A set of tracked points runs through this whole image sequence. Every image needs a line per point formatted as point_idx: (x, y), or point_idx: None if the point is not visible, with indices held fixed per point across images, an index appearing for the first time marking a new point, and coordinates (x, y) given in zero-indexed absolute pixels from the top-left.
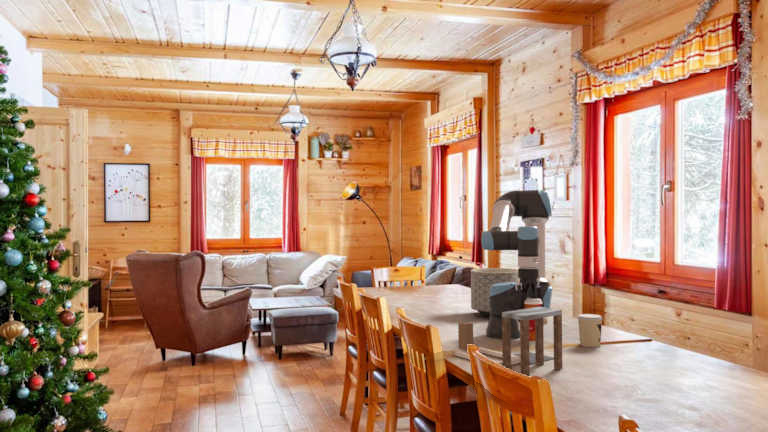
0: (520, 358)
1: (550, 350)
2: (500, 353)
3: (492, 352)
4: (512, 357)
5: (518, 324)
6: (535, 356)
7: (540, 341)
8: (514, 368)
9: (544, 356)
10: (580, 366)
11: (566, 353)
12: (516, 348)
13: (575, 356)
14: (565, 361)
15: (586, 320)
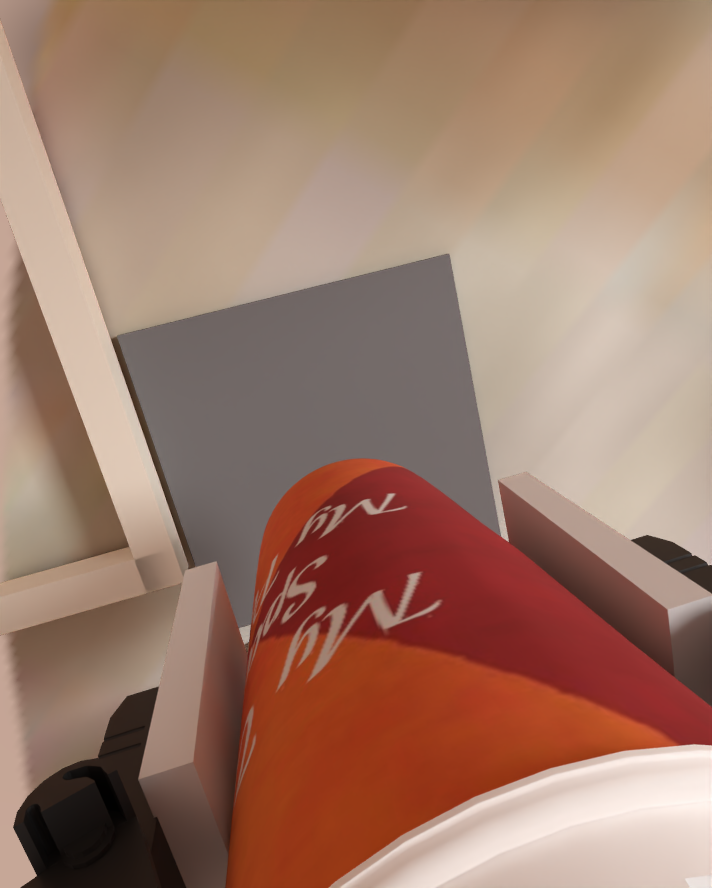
0: (143, 593)
1: (678, 279)
2: (55, 345)
3: (14, 224)
4: (114, 498)
5: (176, 619)
6: (399, 443)
7: None
8: (14, 684)
9: (466, 474)
10: None
11: (705, 430)
12: (464, 34)
13: (686, 537)
14: None
15: None
